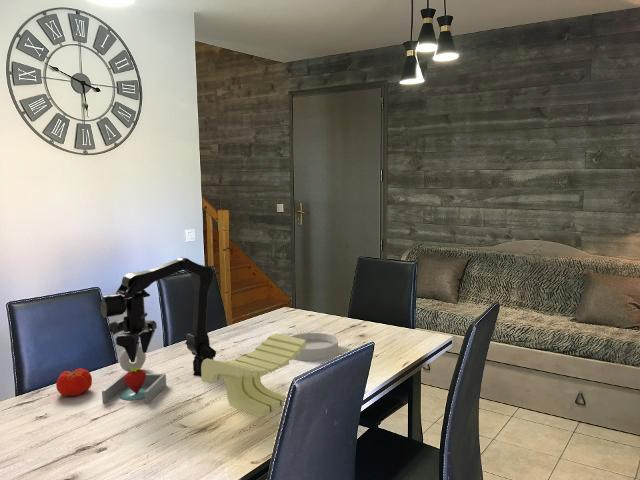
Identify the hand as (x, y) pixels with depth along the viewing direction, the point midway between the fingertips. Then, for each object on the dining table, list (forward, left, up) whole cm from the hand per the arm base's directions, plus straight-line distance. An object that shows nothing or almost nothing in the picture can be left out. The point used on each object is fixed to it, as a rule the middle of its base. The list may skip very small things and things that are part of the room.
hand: (138, 357), depth 172 cm
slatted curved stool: (-41, +8, -12) cm, 44 cm away
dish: (-53, -41, -12) cm, 69 cm away
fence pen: (+1, +3, -12) cm, 12 cm away
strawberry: (+1, +2, -12) cm, 12 cm away
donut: (+11, -17, -12) cm, 24 cm away
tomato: (+22, +3, -12) cm, 25 cm away
